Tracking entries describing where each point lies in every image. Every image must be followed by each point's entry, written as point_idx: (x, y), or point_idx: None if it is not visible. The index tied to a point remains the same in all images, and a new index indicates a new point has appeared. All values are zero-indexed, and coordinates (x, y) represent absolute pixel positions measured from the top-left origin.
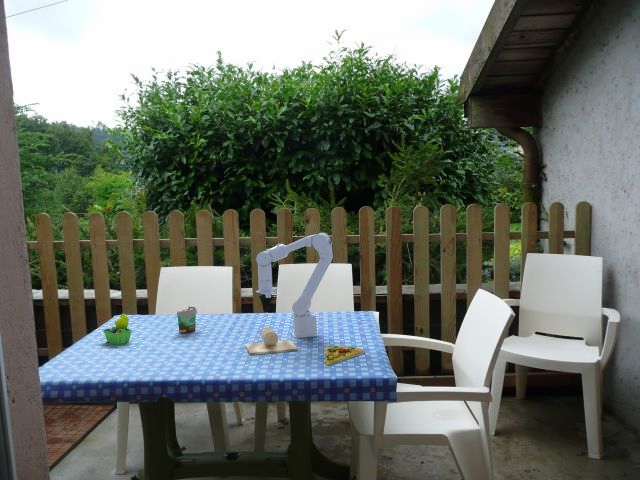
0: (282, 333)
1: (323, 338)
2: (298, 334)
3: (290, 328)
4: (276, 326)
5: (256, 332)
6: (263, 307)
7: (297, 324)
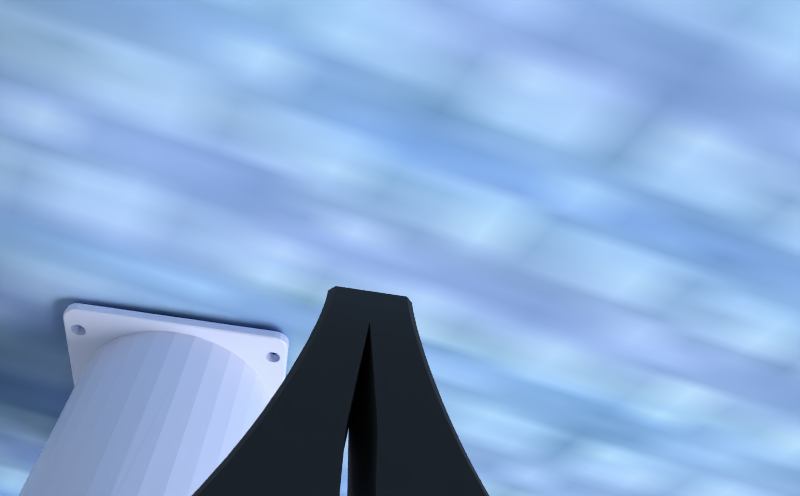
0: (376, 271)
1: (10, 465)
2: (94, 360)
3: (552, 399)
4: (761, 328)
5: (654, 5)
6: (293, 371)
7: (50, 454)
